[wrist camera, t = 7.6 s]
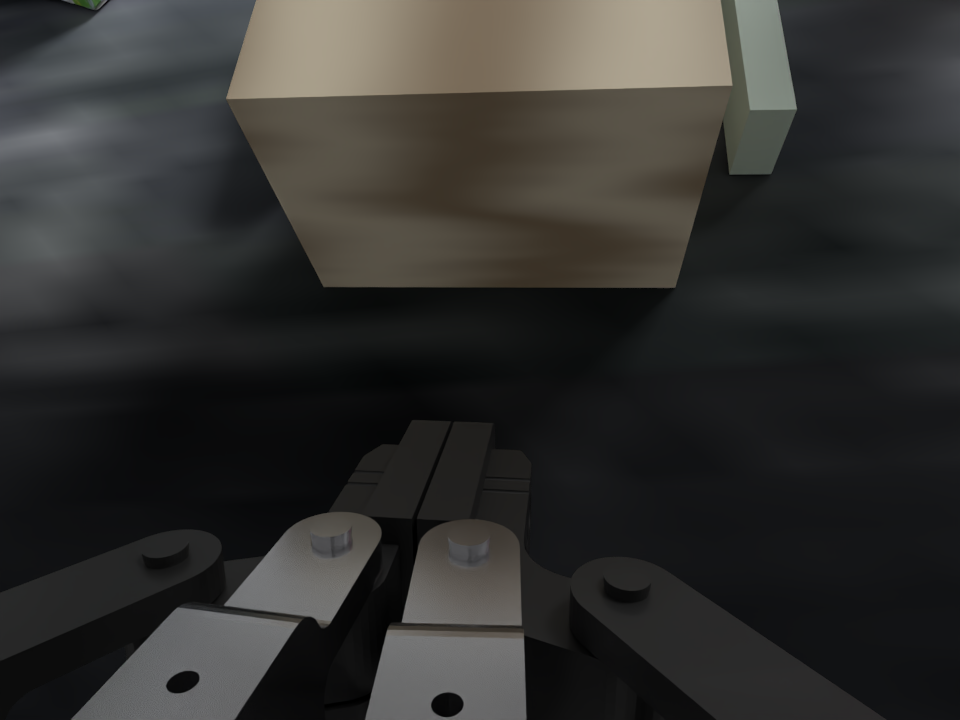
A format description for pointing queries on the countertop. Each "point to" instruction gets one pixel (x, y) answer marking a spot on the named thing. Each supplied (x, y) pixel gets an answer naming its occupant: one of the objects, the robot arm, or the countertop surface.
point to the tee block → (486, 136)
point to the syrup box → (88, 3)
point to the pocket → (756, 86)
